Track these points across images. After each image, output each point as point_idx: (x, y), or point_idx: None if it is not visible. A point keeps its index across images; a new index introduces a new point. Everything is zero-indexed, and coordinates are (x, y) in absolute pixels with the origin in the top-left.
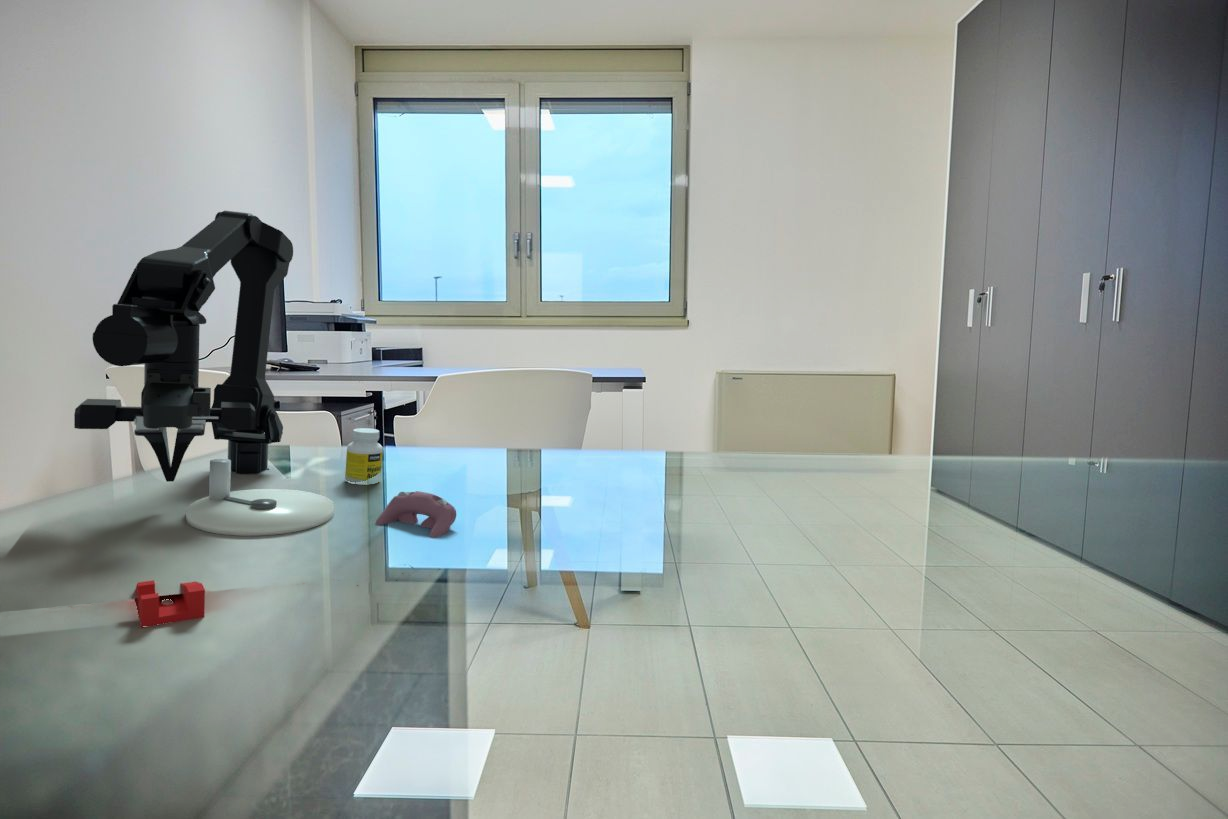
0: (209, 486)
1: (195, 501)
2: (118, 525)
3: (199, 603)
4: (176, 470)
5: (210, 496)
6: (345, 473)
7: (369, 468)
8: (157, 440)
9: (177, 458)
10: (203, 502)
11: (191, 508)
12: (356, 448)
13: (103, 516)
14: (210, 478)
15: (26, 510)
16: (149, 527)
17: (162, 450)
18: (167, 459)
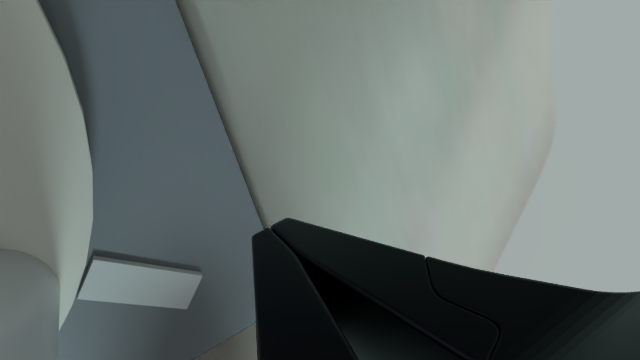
0: (39, 310)
1: (91, 193)
2: (338, 40)
3: None
4: (260, 271)
5: (27, 264)
6: None
7: None
8: (622, 340)
9: (295, 332)
10: (28, 186)
11: (21, 43)
12: None
13: (401, 129)
14: (19, 350)
15: (538, 138)
16: (229, 24)
17: (452, 312)
18: (359, 285)
